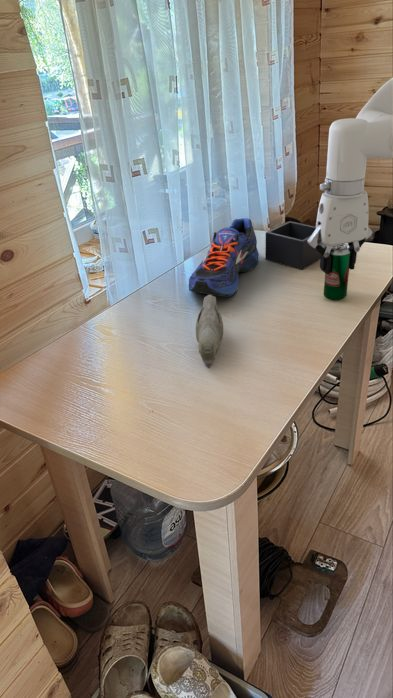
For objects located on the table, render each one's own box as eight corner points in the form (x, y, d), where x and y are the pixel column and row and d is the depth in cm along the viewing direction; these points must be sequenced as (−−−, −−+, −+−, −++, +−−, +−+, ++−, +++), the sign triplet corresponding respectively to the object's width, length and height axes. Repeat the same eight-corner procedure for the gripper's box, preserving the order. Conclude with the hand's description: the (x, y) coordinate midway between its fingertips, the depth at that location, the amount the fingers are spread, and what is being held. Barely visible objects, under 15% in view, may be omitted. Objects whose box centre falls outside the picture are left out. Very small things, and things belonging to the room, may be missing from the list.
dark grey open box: (325, 256, 136) (327, 229, 132) (301, 270, 130) (303, 241, 126) (288, 247, 143) (289, 220, 139) (265, 259, 137) (265, 232, 133)
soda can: (318, 296, 117) (322, 246, 111) (333, 289, 120) (337, 240, 113) (336, 304, 114) (340, 252, 107) (351, 296, 116) (356, 246, 110)
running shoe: (176, 306, 118) (171, 254, 111) (220, 253, 143) (218, 208, 136) (227, 312, 114) (225, 259, 107) (263, 256, 139) (263, 210, 132)
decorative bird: (194, 369, 96) (191, 335, 92) (198, 326, 109) (196, 294, 105) (223, 368, 95) (221, 334, 91) (224, 325, 109) (222, 294, 105)
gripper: (314, 197, 99) (309, 283, 108) (393, 184, 102) (381, 269, 112) (297, 187, 105) (294, 269, 114) (372, 176, 108) (362, 257, 118)
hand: (337, 268), depth 113 cm, fingers closed on soda can, 5 cm apart
